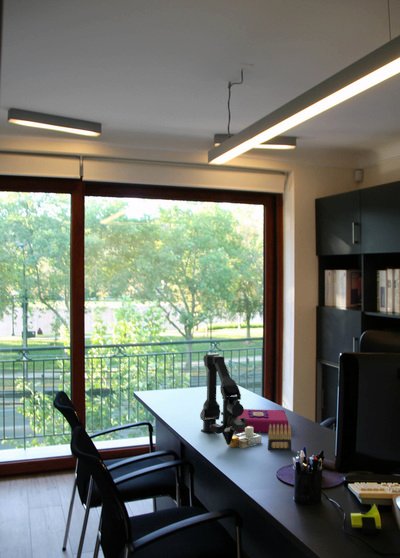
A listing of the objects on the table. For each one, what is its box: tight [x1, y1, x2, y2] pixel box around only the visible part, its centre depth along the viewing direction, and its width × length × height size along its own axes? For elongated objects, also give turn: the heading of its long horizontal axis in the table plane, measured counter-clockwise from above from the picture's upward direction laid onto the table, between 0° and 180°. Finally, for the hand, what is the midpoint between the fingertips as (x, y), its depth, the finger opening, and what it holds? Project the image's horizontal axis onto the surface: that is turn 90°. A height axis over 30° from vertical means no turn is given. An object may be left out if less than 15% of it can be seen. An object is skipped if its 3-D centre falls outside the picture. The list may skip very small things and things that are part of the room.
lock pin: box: [228, 435, 247, 448], centre depth 250 cm, size 3×10×4 cm, turn 129°
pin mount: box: [238, 439, 248, 449], centre depth 250 cm, size 9×3×3 cm, turn 39°
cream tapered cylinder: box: [245, 426, 254, 438], centre depth 255 cm, size 4×4×7 cm
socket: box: [235, 432, 262, 447], centre depth 254 cm, size 9×9×4 cm
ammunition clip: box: [267, 423, 292, 452], centre depth 244 cm, size 11×2×12 cm, turn 93°
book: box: [235, 408, 289, 435], centre depth 279 cm, size 21×28×8 cm
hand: (228, 444), depth 246 cm, fingers closed
